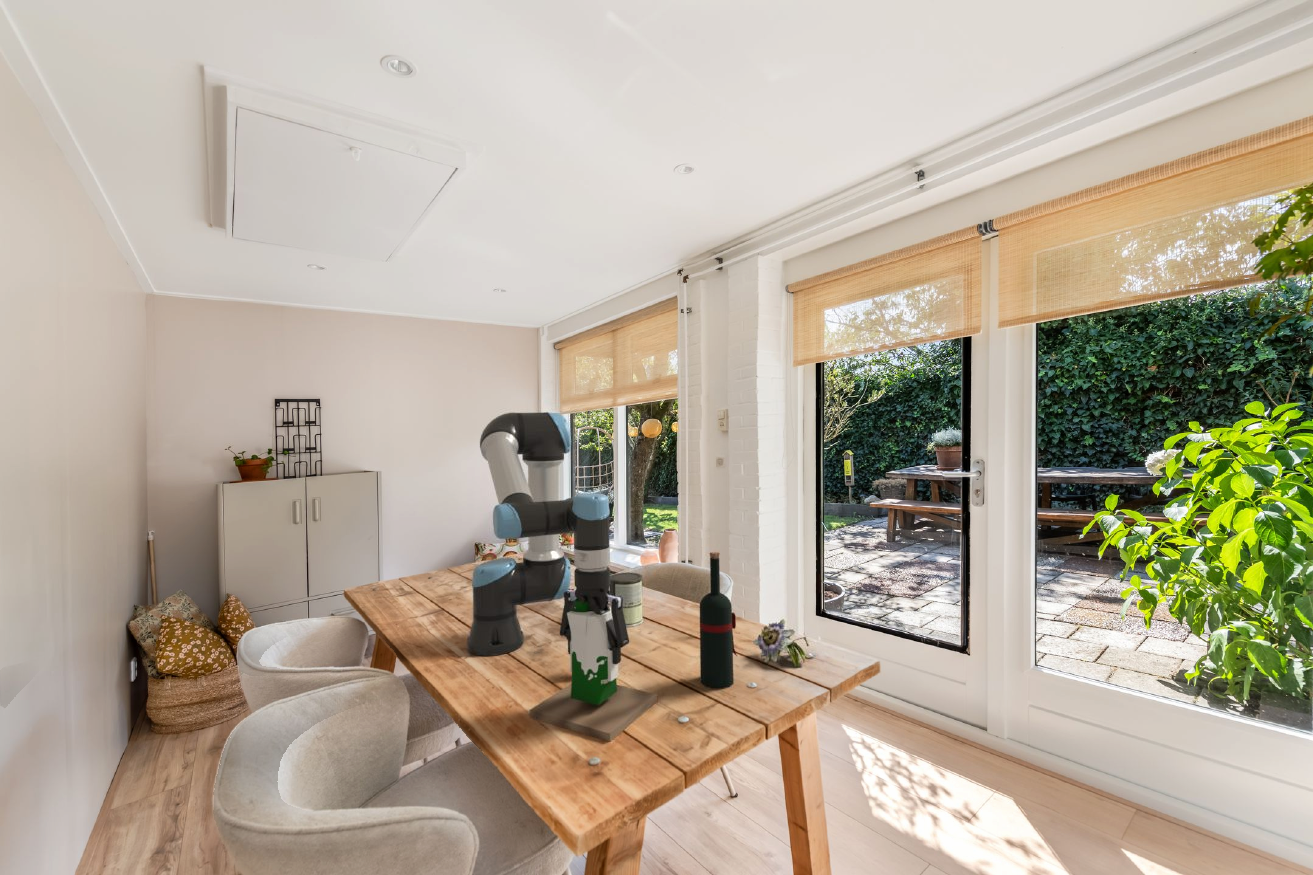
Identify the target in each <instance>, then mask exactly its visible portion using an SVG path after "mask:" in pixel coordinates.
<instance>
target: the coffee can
mask: <svg viewBox="0 0 1313 875" xmlns="http://www.w3.org/2000/svg"><path fill="white" fill-rule="evenodd" d="M609 591H610V594H611V596H615V597H619V596H622V597H623V606H622V608H623V613H624V618H625V623H626V628H632V627H637V626H640V625H642V624H643V622H644V618H643V575H642V574H640V573H636V572H618V573H614V574H610V586H609Z"/></svg>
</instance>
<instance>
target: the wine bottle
mask: <svg viewBox="0 0 1313 875" xmlns="http://www.w3.org/2000/svg"><path fill="white" fill-rule="evenodd" d="M709 556H710V557H709V565H710V566H709V569H710V570H709V571H710V572H709V574H710V592H709V593H707V594H705V595H704V596H703V597H702V598H701V600H700V603H699V645H700V646H699V649H700V650H699V655H700V656H699V662H700V664H699V665H700V667H699V668H700V670H699V672H700V675H699V677H700V685H703V687H705V688H709V689H713V690H717V689H718V690H719V689H720V690H721V689H728V688H730V687H731V686H733V685H734V684H735V682H734V680H735V679H734V655H735V656H736V657H738V655H737V653H736V649H735V644H734V635H733V634H734V632H733V629H734V630H735V629H736V627H737V624H736V623H737V621H736V620H737V619H736V613H735V612H733V610H732V609H733V607H732V606H733V605H732V603H731V600H730V598H729V597H728V596H727V595H725V594H724V593H722V592H721V588H720V587H721V583H720V582H721V581H720V579H721V577H720V576H721V574H720V572H721V571H720V552H719V551H718V552H717V551H712V552H709Z"/></svg>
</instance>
